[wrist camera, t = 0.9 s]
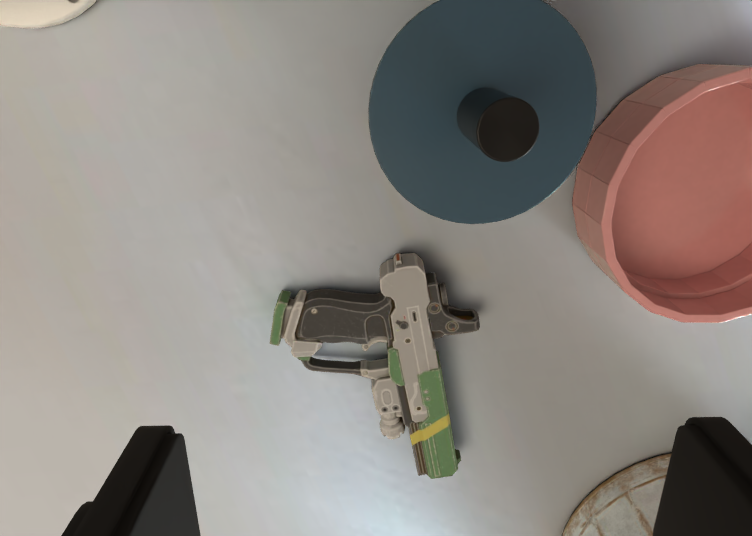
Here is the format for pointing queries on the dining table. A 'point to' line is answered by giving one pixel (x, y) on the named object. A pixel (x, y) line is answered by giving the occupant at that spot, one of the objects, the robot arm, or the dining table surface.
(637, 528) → the milk can
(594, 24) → the dining table surface
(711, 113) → the bowl
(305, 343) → the futuristic handgun
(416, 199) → the lid
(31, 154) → the dining table surface
